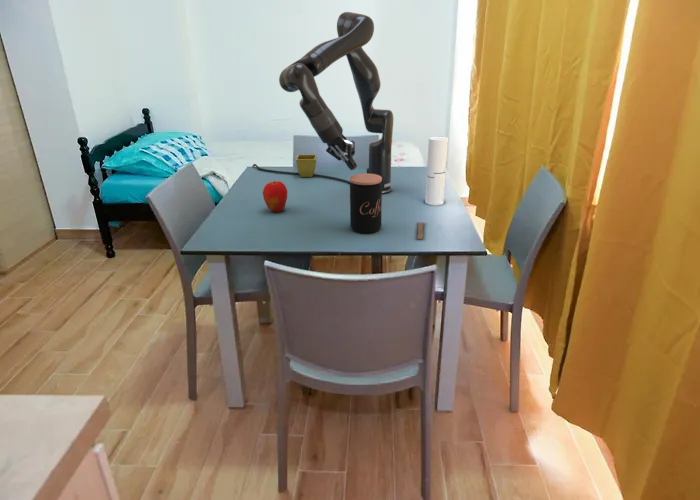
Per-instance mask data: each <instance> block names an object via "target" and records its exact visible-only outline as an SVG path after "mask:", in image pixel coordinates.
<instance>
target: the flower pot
mask: <svg viewBox="0 0 700 500" xmlns="http://www.w3.org/2000/svg"><path fill="white" fill-rule="evenodd" d="M295 162H296V163H295V164H296V169H297V173H299V174H300V175H299V176H300V177H301V178H312V177H314V176H313V174H315V170H316V167H317V154H297V156H296V158H295Z"/></svg>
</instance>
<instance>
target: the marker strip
mask: <svg viewBox="0 0 700 500" xmlns="http://www.w3.org/2000/svg"><path fill="white" fill-rule="evenodd" d="M423 235H424V222H418V228H417V237H416V239H417V240H420V241H421V240H422V241H423Z"/></svg>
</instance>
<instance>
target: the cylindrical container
mask: <svg viewBox="0 0 700 500" xmlns="http://www.w3.org/2000/svg"><path fill="white" fill-rule="evenodd" d="M427 145H428V146H427V160H426V161H427V163H426V180H425V181H426V182H425V198H424V202H425V204H426V205H429V206H440V205H441V206H442V205H444V203H445V202H444V201H445V190H446V189H445V188H446V176H447V163H448V162H447V161H448V148H449V137H446V136H436V135H435V136H430V137H428V144H427Z"/></svg>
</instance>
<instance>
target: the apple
mask: <svg viewBox="0 0 700 500" xmlns="http://www.w3.org/2000/svg"><path fill="white" fill-rule="evenodd" d="M262 196H263V197H262V198H263V201H264V203H265V205H266V207H267V209H268V210H269V211H271V212H273V213H279V212H282V211H283V210H284V208H285V207H286V204H287V200H288V189H287V186H286V184H284V183H283V182H282V181H279V180H278V181H277V180H274V181H270V182H268V183H265V185H264V187H263V190H262Z"/></svg>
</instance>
